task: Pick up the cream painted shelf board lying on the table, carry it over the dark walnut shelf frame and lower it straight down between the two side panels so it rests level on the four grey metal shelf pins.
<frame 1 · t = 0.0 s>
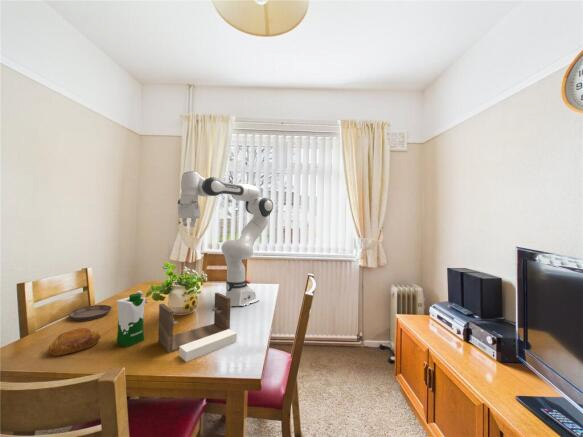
hand: (188, 226, 138), 48 cm above the table, tool pointing down, fingers open, 8 cm apart
shelf board: (209, 349, 103), on the table
grandmother figurine: (139, 314, 137), on the table
croissant: (75, 347, 102), on the table
milk carton: (130, 342, 107), on the table
shelf frame: (195, 337, 112), on the table
plant saucer: (90, 316, 134), on the table
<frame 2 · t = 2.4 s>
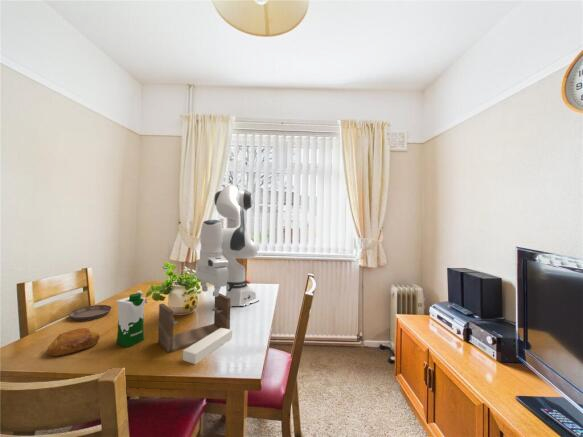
hand: (210, 293, 104), 22 cm above the table, tool pointing down, fingers open, 8 cm apart
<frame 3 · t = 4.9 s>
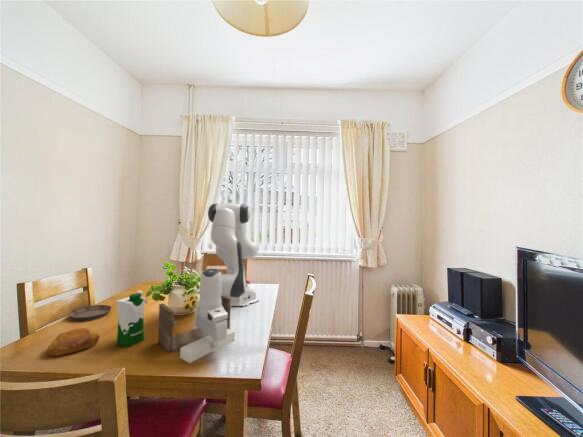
hand: (209, 344, 103), 2 cm above the table, tool pointing down, fingers closed on shelf board, 6 cm apart
shelf board: (209, 348, 103), on the table, touching gripper
everything else where it was.
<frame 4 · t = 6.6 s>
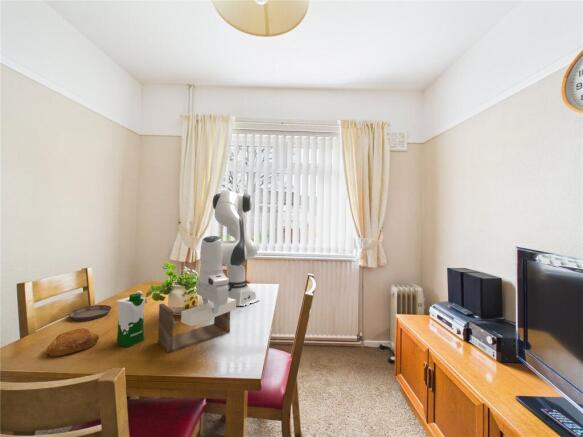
hand: (210, 310, 104), 15 cm above the table, tool pointing down, fingers closed on shelf board, 6 cm apart
shelf board: (210, 315, 104), point 13 cm above the table, touching gripper
everything else where it was.
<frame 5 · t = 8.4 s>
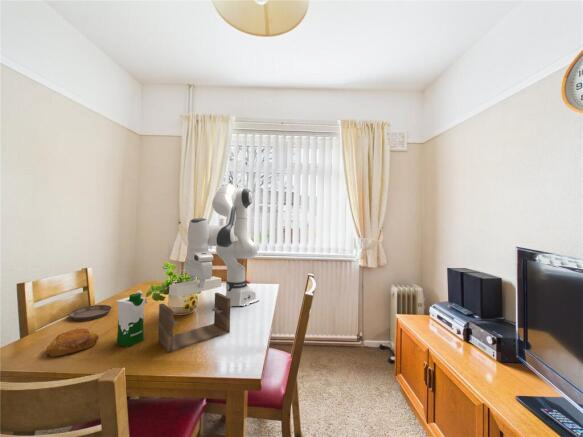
hand: (197, 286, 113), 23 cm above the table, tool pointing down, fingers closed on shelf board, 6 cm apart
shelf board: (196, 290, 113), point 21 cm above the table, touching gripper
everything else where it was.
when the fingers open (13 cm above the table, at t = 10.6 s): shelf board stays where it is, resting on shelf frame.
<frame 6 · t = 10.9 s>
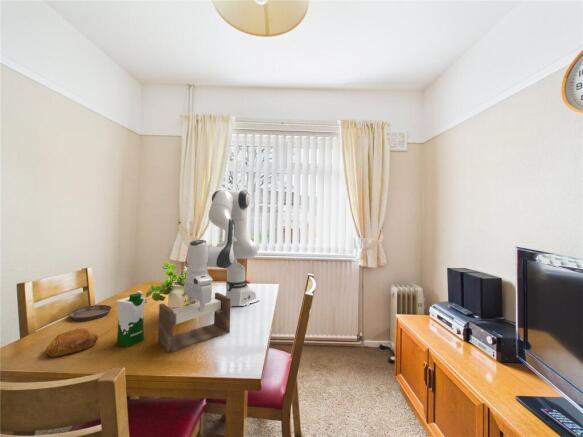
hand: (196, 308, 113), 13 cm above the table, tool pointing down, fingers open, 8 cm apart
shelf board: (196, 314, 113), point 10 cm above the table, touching shelf frame
everything else where it was.
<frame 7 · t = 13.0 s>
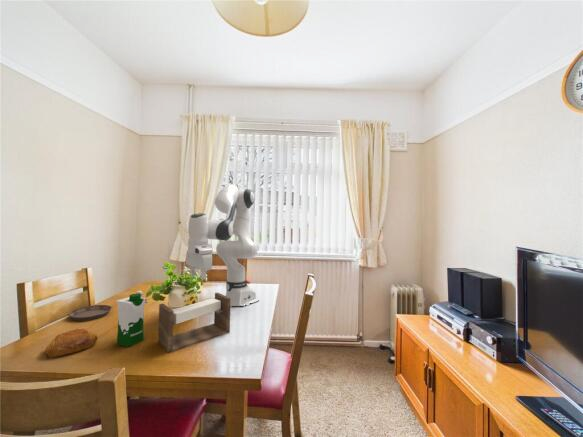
hand: (198, 276, 120), 25 cm above the table, tool pointing down, fingers open, 8 cm apart
nothing on the table moved.
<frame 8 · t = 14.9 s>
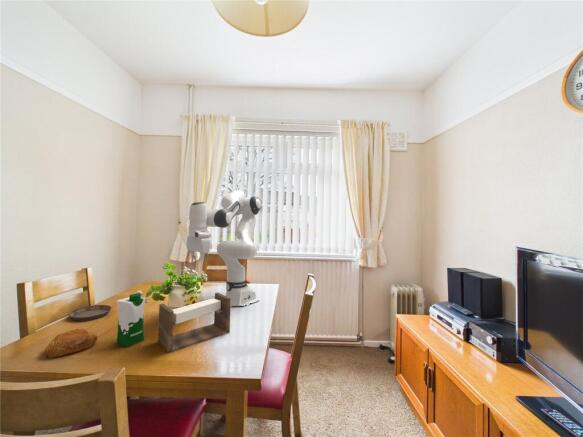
hand: (197, 260, 131), 31 cm above the table, tool pointing down, fingers open, 8 cm apart
at the end: shelf board 0.0 cm off-centre on the shelf frame, point 10.0 cm above the shelf frame's base; shelf board tilted 0°; the gripper is holding nothing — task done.
